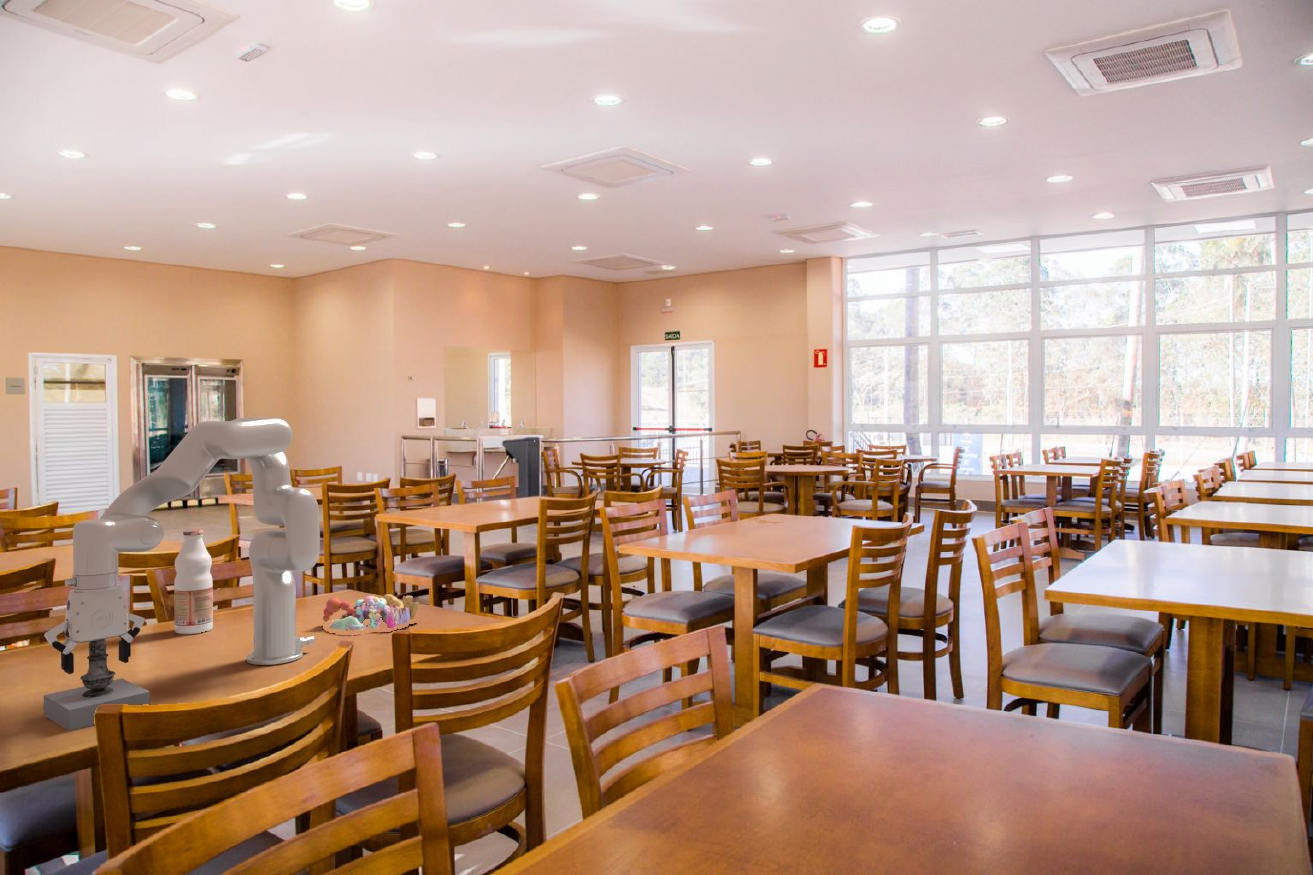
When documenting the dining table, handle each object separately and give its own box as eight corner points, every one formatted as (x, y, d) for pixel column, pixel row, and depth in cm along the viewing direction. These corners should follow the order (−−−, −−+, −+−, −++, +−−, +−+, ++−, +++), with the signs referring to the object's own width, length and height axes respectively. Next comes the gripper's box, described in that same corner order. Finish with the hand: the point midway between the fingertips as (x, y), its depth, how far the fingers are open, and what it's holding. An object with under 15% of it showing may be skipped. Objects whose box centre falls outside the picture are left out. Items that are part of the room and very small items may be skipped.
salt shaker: (73, 696, 167) (72, 636, 167) (98, 687, 173) (97, 628, 173) (98, 698, 166) (97, 637, 166) (122, 689, 172) (122, 630, 171)
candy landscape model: (382, 613, 260) (382, 583, 259) (433, 624, 246) (433, 592, 246) (308, 629, 239) (308, 596, 239) (358, 642, 226) (358, 607, 225)
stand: (122, 697, 179) (121, 678, 179) (150, 711, 170) (149, 691, 170) (43, 715, 168) (43, 695, 168) (69, 731, 159) (69, 710, 159)
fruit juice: (169, 635, 230) (168, 533, 229) (180, 627, 239) (180, 528, 239) (207, 634, 232) (206, 532, 231) (217, 625, 241) (216, 527, 241)
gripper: (51, 590, 160) (52, 680, 160) (151, 577, 173) (151, 660, 174) (38, 585, 164) (38, 673, 165) (136, 573, 178) (136, 654, 178)
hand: (96, 666), depth 169 cm, fingers open, 9 cm apart
